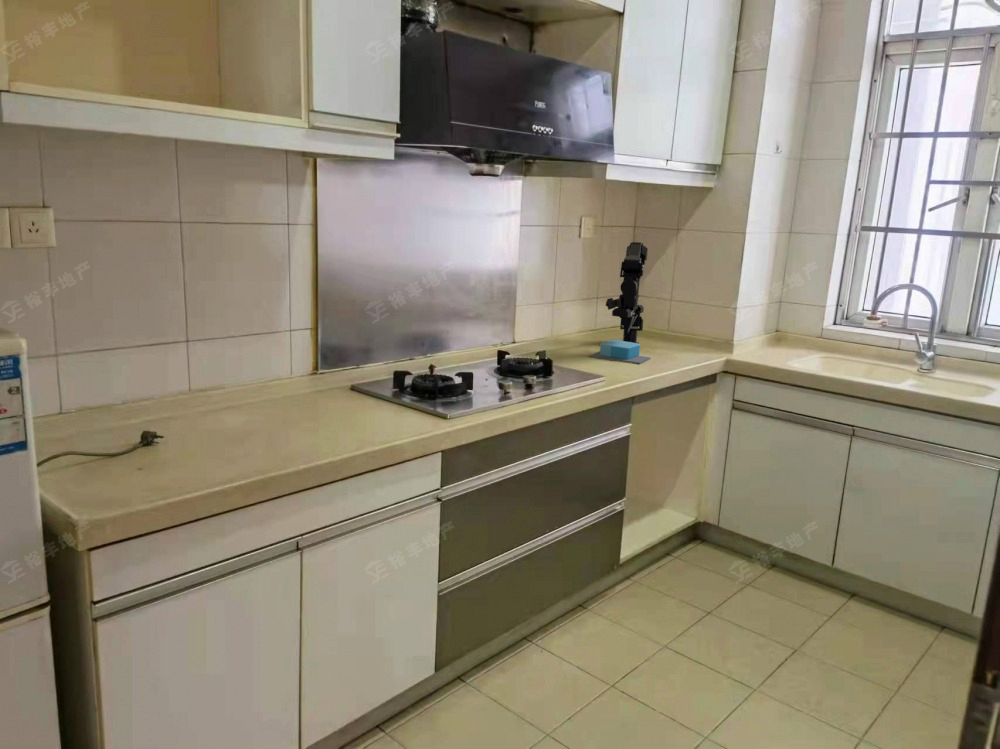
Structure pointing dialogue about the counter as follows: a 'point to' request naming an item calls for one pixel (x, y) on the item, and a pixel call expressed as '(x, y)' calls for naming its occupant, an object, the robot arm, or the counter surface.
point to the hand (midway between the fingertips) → (626, 332)
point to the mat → (632, 360)
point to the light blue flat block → (619, 349)
